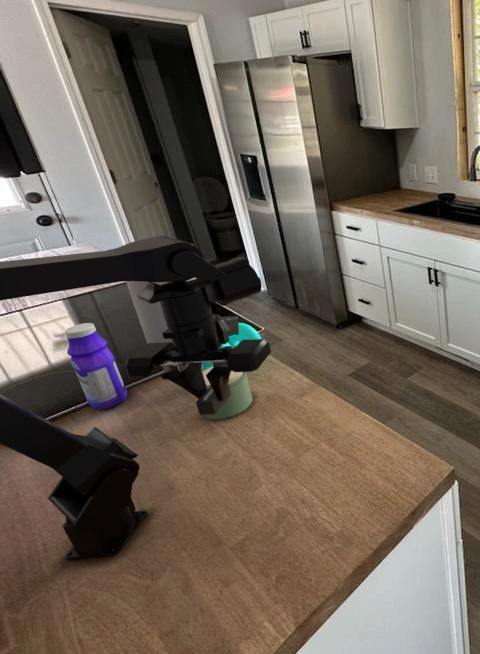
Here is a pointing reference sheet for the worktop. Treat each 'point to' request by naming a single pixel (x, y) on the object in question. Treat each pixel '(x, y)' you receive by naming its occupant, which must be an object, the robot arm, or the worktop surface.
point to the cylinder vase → (149, 313)
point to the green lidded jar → (233, 395)
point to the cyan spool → (237, 339)
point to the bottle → (95, 367)
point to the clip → (210, 402)
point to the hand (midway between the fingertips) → (214, 399)
